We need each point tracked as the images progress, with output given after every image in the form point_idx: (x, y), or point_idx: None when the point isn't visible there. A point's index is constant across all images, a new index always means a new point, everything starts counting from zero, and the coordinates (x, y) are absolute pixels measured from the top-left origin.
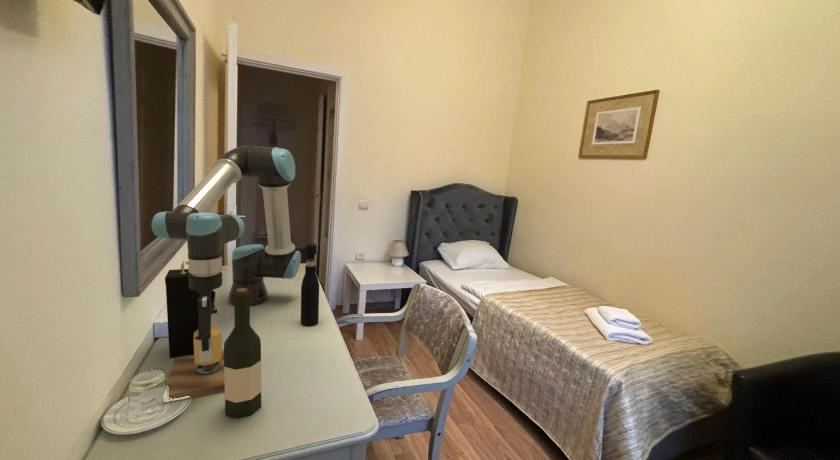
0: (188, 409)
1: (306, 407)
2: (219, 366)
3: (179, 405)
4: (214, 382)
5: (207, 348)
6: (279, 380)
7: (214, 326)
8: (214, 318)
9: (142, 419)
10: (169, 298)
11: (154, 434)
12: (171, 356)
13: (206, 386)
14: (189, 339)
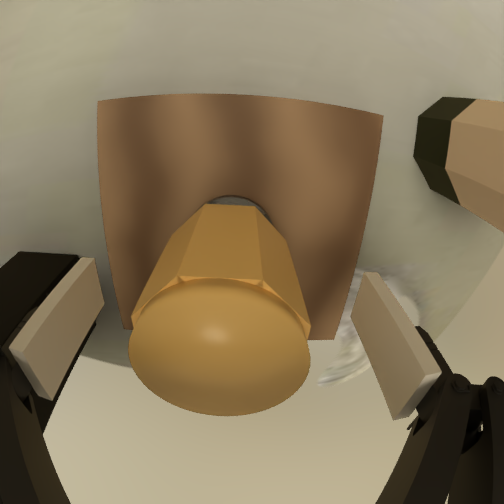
0: (388, 272)
1: (495, 29)
2: (243, 201)
3: None
4: (341, 219)
5: (428, 340)
6: (371, 12)
7: (133, 332)
8: (36, 334)
9: (363, 346)
10: None
11: (422, 319)
12: (93, 323)
13: (352, 243)
14: None
